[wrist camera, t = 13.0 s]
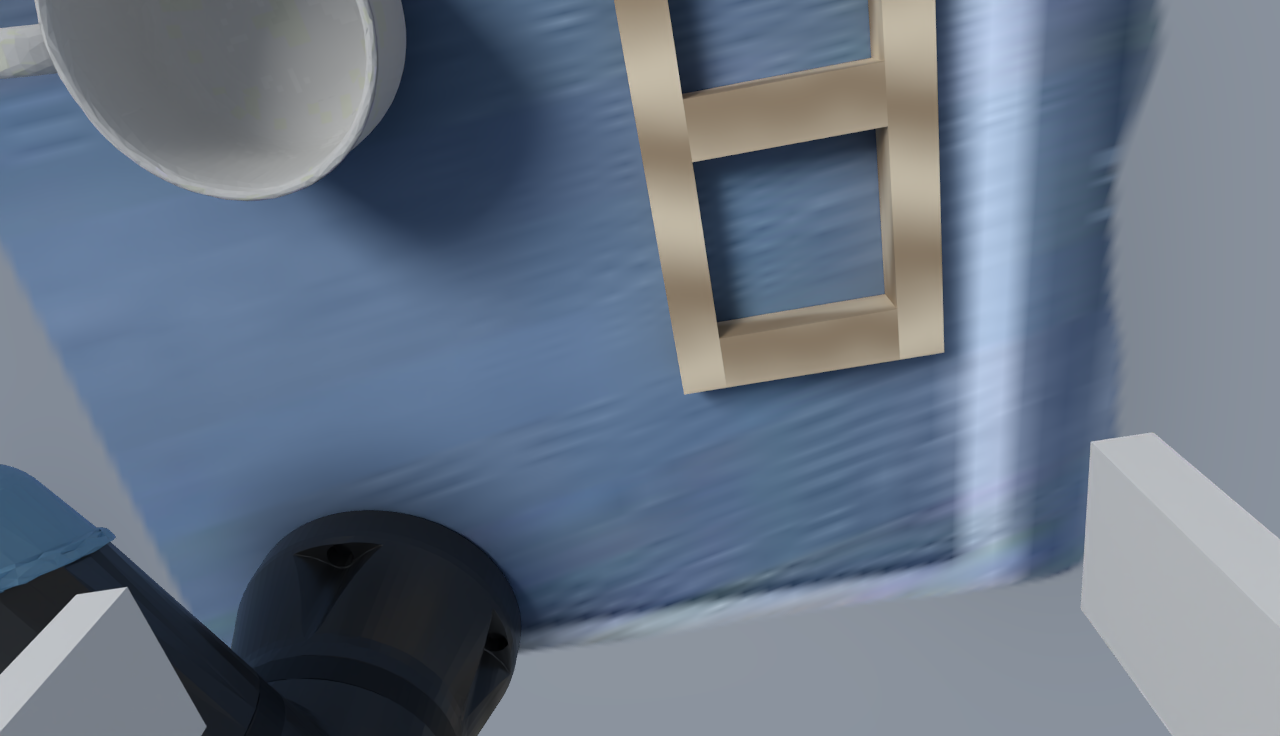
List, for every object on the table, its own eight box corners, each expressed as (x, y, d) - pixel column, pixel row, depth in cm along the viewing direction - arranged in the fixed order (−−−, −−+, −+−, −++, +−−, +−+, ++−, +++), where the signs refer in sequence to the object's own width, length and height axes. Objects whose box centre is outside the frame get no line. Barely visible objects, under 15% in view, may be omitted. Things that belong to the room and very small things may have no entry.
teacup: (431, -109, 31) (365, -143, 23) (432, 175, 35) (377, 220, 28) (59, -154, 30) (-127, -203, 23) (109, 140, 35) (-33, 178, 27)
